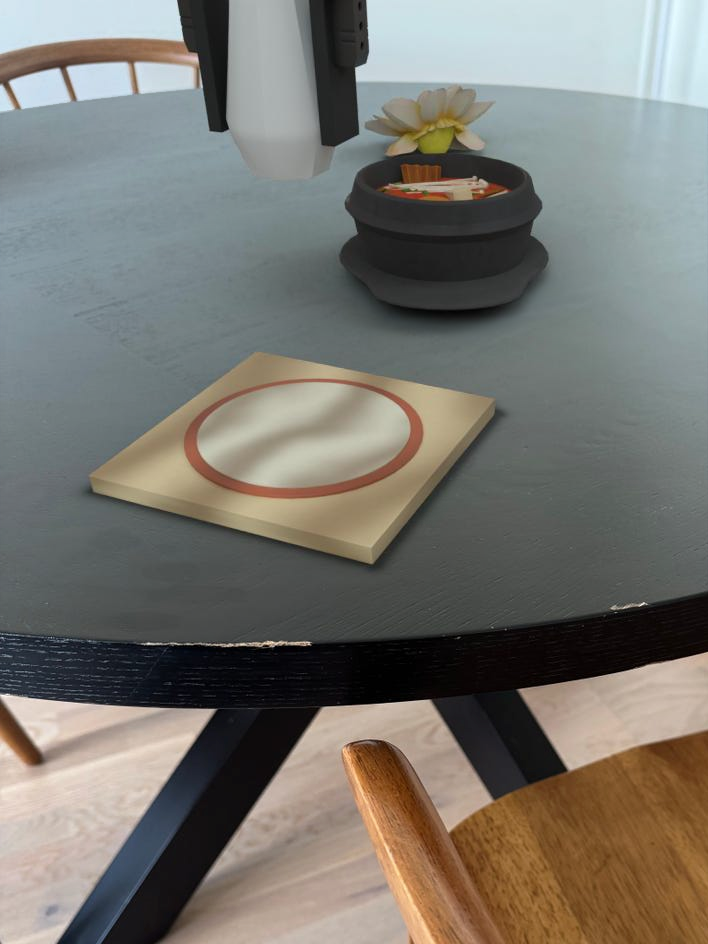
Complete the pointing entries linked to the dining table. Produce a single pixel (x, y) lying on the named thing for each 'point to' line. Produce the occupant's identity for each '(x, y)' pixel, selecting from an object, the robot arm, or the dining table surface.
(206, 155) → the dining table surface
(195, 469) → the board
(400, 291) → the casserole
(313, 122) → the salt shaker
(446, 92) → the decorative flower
